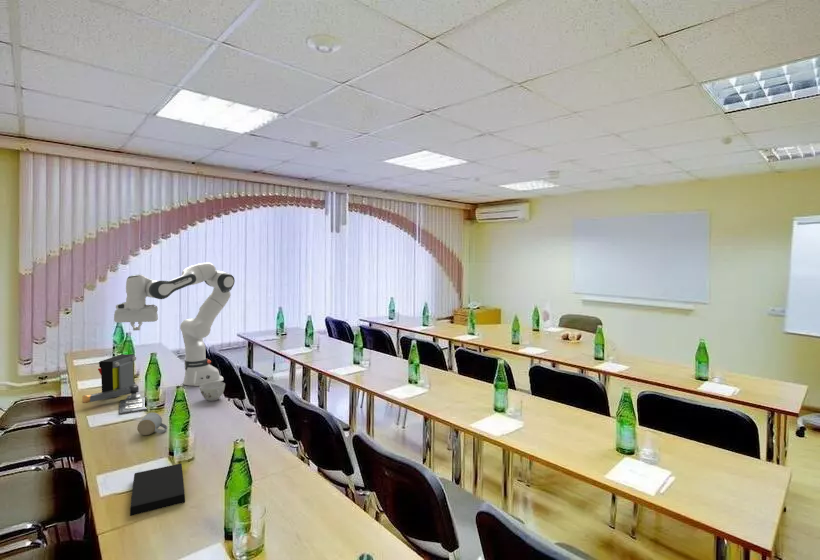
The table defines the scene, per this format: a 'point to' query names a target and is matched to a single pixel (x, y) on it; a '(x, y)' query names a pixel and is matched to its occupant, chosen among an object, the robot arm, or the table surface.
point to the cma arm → (109, 394)
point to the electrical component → (117, 372)
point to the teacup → (212, 390)
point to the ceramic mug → (151, 424)
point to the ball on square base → (133, 396)
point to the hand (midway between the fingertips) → (136, 330)
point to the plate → (132, 405)
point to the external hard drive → (157, 489)
